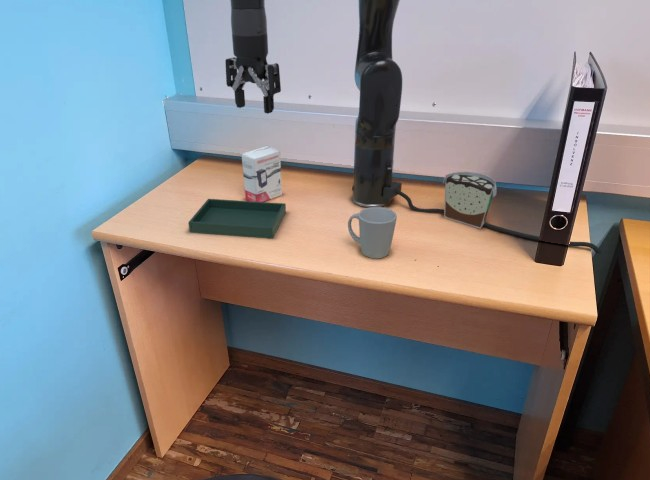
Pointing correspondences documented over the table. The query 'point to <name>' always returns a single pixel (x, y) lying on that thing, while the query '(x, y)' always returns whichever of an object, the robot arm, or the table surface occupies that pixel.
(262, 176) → the ink box
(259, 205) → the desk tray
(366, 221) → the cup
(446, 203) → the food container
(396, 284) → the table surface
